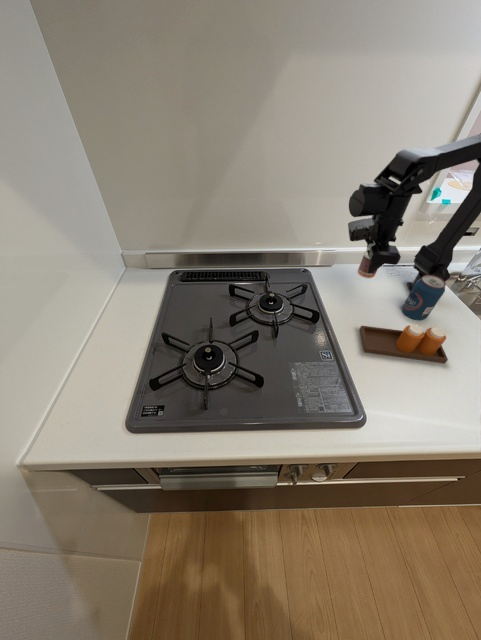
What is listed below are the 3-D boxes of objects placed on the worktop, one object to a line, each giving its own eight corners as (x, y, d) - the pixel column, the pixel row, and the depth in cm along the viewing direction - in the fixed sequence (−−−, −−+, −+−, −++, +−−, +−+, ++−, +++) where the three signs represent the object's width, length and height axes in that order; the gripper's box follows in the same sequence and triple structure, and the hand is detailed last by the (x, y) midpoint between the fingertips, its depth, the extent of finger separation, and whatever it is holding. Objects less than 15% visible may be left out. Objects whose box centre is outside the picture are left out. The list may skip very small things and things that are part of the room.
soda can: (395, 307, 83) (413, 274, 75) (416, 304, 84) (436, 272, 76) (409, 323, 78) (430, 290, 70) (431, 320, 79) (454, 287, 71)
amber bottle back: (413, 341, 73) (425, 323, 68) (431, 343, 72) (444, 326, 68) (418, 354, 70) (431, 337, 65) (437, 356, 69) (451, 339, 65)
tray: (359, 330, 76) (361, 325, 75) (433, 340, 74) (437, 334, 73) (363, 353, 70) (366, 348, 69) (443, 364, 68) (448, 359, 67)
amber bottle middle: (394, 338, 73) (404, 321, 69) (411, 340, 73) (423, 323, 68) (397, 351, 70) (409, 334, 66) (416, 353, 70) (428, 336, 65)
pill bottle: (375, 279, 76) (387, 253, 70) (357, 277, 77) (367, 250, 71) (373, 270, 79) (384, 243, 74) (356, 267, 80) (366, 241, 74)
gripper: (352, 194, 73) (336, 247, 84) (360, 226, 60) (340, 284, 71) (396, 198, 72) (375, 251, 83) (414, 232, 59) (386, 289, 70)
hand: (368, 267), depth 77 cm, fingers closed on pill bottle, 5 cm apart
